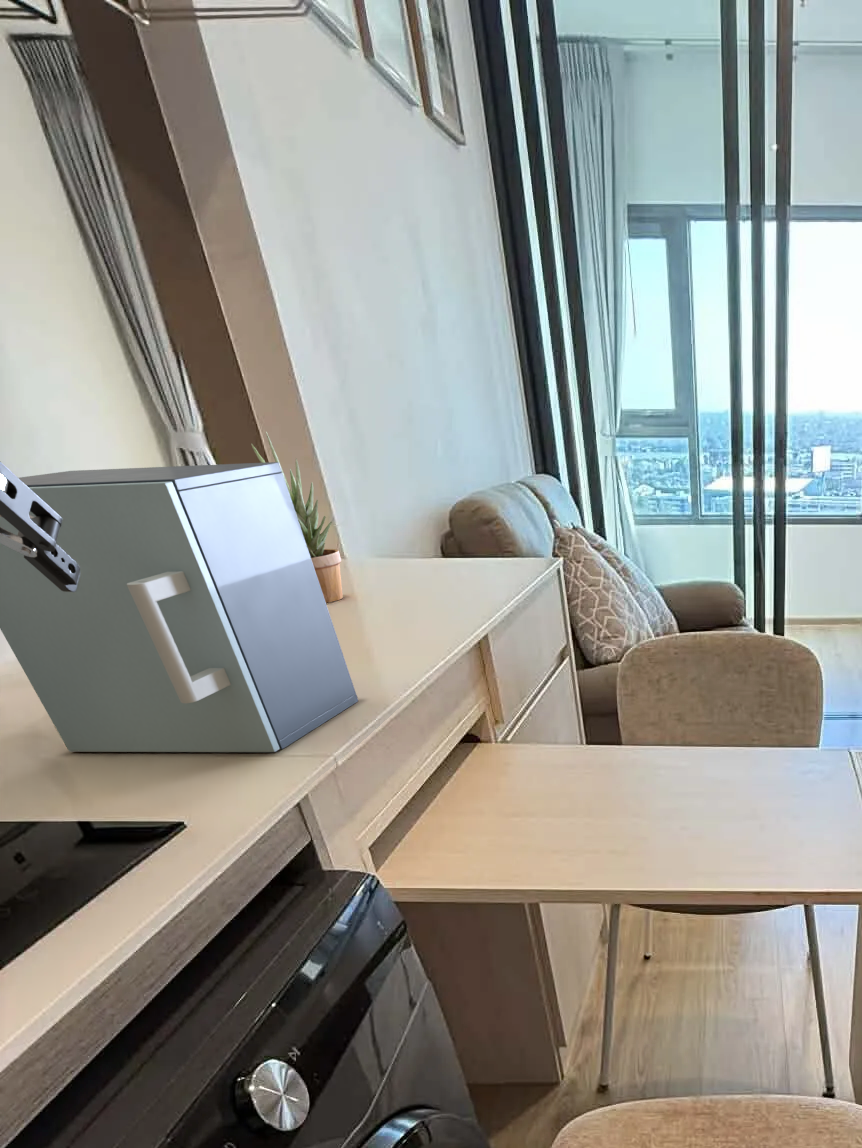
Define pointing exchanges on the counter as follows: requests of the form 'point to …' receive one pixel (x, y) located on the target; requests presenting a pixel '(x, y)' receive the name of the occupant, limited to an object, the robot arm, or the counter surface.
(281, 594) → the cupboard
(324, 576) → the potted plant
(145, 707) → the door
